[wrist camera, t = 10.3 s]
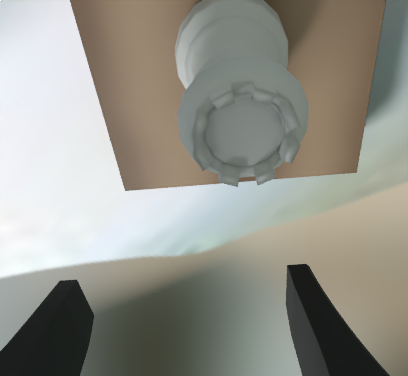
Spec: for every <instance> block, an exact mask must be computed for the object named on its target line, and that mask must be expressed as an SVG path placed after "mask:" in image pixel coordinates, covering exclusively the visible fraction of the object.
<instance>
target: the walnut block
mask: <svg viewBox="0 0 408 376" xmlns="http://www.w3.org/2000/svg"><path fill="white" fill-rule="evenodd" d="M201 1H202V0H70V2H71V6H72V9H73V13H74V16H75V20H76V23H77V26H78V30H79V33H80V37H81V40H82V44H83V47H84V50H85V54H86V57H87V61H88V64H89V68H90V71H91V75H92V78H93V81H94V85H95V88H96V92H97V95H98V99H99V102H100V106H101V109H102V112H103V116H104V119H105V123H106V126H107V130H108V133H109V137H110V140H111V143H112V147H113V150H114V154H115V157H116V161H117V164H118V167H119V171H120V174H121V178H122V181H123V185H124V188H125V191H129V190H142V189H155V188H168V187H180V186H193V185H206V184H218V183H220V182H219V177H218V174H216V173H213V172H210V171H209V170H207V169H206V170H204V171H202V169H201V167H200V166H199V164H198V163H197V162H196V161H194V160H193V159H192V157H191V156H190V154H189V153H188V151H187V150H186V148H185V147H184V145H183V144H182V142H181V140H180V135H179V128H178V122H177V114H178V111H179V107H180V103H181V99H182V96H183V93H184V92H185V90H186V89H185V87H184V85H183V84H182V82H181V80H180V78H179V77H178V72H177V65H176V59H175V45H176V41H177V37H178V32H179V28H180V25H181V23H182V22H183V20H184V19H185V18H186V16H187V15H188V13H189V12H190V11H191V9H192V8H193V6H194V5H196V4H197V3H199V2H201ZM264 1H265V2H266V3H267V4H268V5H269V6H270V7H271V8H272V9H273V10H274V11H275V12H276V13H277V14H278V16H279V18H280V21H281V23H282V26H283V29H284V31H285V34H286V37H287V39H288V66H287V68H286V69H287V70H288V71H289V72H290V73H291V74H292V75H293V76H294V77H295V78H296V79H298V80H299V81H300V83H301V86H302V88H303V91H304V93H305V96H306V98H307V101H308V103H309V114H308V128H307V131H306V133H305V135H304V137H303V139H302V141H301V143H300V146H301V147H300V148H299V150H298V152H297V154H296V156H295V158H294V160H293V162H292V164H290V163H288V162H286V161H284V162H283V163H282V164H281V165H280V166H279V167H277V168H274V171H275V174H276V178H274V179H282V178H294V177H307V176H320V175H333V174H345V173H357V167H358V162H359V156H360V150H361V144H362V138H363V132H364V126H365V120H366V115H367V109H368V103H369V97H370V91H371V85H372V79H373V73H374V68H375V62H376V56H377V50H378V44H379V38H380V32H381V26H382V21H383V15H384V9H385V3H386V0H264ZM244 181H256V177H255V176H251V177H239V182H244Z"/></svg>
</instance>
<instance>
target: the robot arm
mask: <svg viewBox="0 0 408 376" xmlns="http://www.w3.org/2000/svg"><path fill="white" fill-rule="evenodd" d="M286 307H287V313H288V319H289V325H290V331H291V336H292V339H293V343H294V347H295V350H296V354H297V357H298V361H299V365H300V368H301V372H302V375H303V376H390V375H389V374H388V373H387V372H386V371H385V370H384V369H383V368H382V367H381V365H380V364H379V363H378V362H377V361H376V360H375V358H374V357H373V356H372V355H371V354H370V352H369V351H368V350H367V349H366V348H365V347H364V345H363V344H362V343H361V342H360V340H359V339H358V338H357V337H356V335H355V334H354V333H353V331H352V330H351V329H350V328H349V326H348V325H347V324H346V322H345V321H344V319H343V318H342V317H341V315H340V314H339V313H338V311H337V310H336V308H335V307H334V306H333V304H332V303H331V301H330V300H329V298H328V297H327V295H326V294H325V292H324V291H323V289H322V288H321V286H320V284H319V283H318V281H317V279H316V278H315V276H314V274H313V272H312V271H311V269H310V267H309V266H308V265H307V264H298V265H288V266H287V288H286ZM93 319H94V314H93V312H92V310H91V308H90V306H89V304H88V302H87V300H86V298H85V296H84V294H83V292H82V290H81V287H80V285H79V283H78V281H77V280H66V281H59V283H58V284H57V285H56V286H55V287H54V289H53V290H52V291H51V292H50V294H49V295H48V296H47V297H46V298H45V299H44V301H43V302H42V303H41V304H40V306H39V307H38V308H37V309H36V310H35V312H34V313H33V314H32V315H31V317H30V318H29V319H28V320H27V321H26V322H25V324H24V325H23V326H22V327H21V328H20V330H19V331H18V332H17V333H16V334H15V335H14V337H13V338H12V339H11V340H10V341H9V342H8V344H7V345H6V346H5V347H4V348H3V349H2V350H1V351H0V376H80V373H81V370H82V366H83V363H84V360H85V357H86V353H87V350H88V346H89V342H90V337H91V331H92V325H93Z"/></svg>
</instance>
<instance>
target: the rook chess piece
mask: <svg viewBox="0 0 408 376" xmlns="http://www.w3.org/2000/svg"><path fill="white" fill-rule="evenodd" d="M175 59H176V65H177V72H178V77H179V78H180V80H181V82H182V84H183V85H184V87H185V89H186V90H185V92H184V93H183V96H182V99H181V103H180V107H179V111H178V114H177V122H178V128H179V135H180V140H181V142H182V144H183V145H184V147H185V148H186V150H187V151H188V153H189V154H190V156H191V157H192V159H193V160H194V161H196V162H197V163H198V164H199V166H200V167H201V169H202V171H204V170H206V169H207V170H209V171H210V172H213V173H216V174H218V177H219V182H220V183H224V184H228V185H232V186H236V187H238V182H239V177H251V176H255V177H256V181H257V185H260V184H262V183H264V182H267V181H269V180H272V179H274V178H276V174H275V171H274V168H277V167H279V166H280V165H281V164H282V163H283V162H284V161H286V162H288V163H290V164H292V162H293V160H294V158H295V156H296V154H297V152H298V150H299V148H300V147H301V146H300V143H301V141H302V139H303V137H304V135H305V133H306V131H307V128H308V114H309V103H308V101H307V98H306V96H305V93H304V91H303V88H302V86H301V83H300V81H299V80H298V79H296V78H295V77H294V76H293V75H292V74H291V73H290V72H289V71H288V70H287V69H286V68H287V66H288V39H287V37H286V34H285V31H284V29H283V26H282V23H281V21H280V18H279V16H278V14H277V13H276V12H275V11H274V10H273V9H272V8H271V7H270V6H269V5H268V4H267V3H266V2H265V1H264V0H202V1H201V2H199V3H197V4H196V5H194V6H193V8H192V9H191V11H190V12H189V13H188V15H187V16H186V18H185V19H184V20H183V22H182V23H181V25H180V28H179V32H178V37H177V41H176V45H175Z"/></svg>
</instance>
